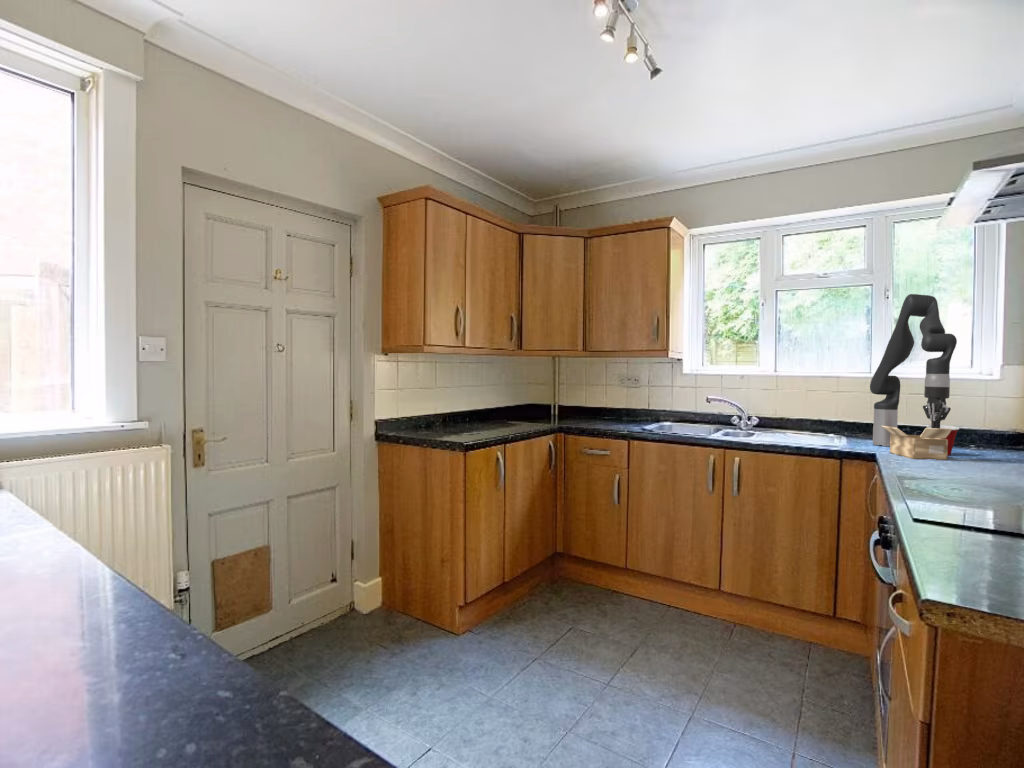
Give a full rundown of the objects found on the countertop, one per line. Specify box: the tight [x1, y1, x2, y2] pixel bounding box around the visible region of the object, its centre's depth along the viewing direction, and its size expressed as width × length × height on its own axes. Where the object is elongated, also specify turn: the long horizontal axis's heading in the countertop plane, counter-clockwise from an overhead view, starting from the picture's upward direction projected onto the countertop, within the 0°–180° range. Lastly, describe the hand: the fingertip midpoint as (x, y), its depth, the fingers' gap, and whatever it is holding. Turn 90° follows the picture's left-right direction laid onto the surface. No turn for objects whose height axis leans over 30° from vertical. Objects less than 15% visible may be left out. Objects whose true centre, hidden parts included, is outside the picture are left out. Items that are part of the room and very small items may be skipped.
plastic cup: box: [926, 424, 960, 457], centre depth 221 cm, size 11×11×12 cm
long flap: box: [882, 426, 909, 437], centre depth 214 cm, size 11×5×1 cm
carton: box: [889, 434, 948, 461], centre depth 213 cm, size 16×12×8 cm
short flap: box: [920, 427, 952, 438], centre depth 203 cm, size 9×5×1 cm
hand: (935, 430), depth 203 cm, fingers closed
